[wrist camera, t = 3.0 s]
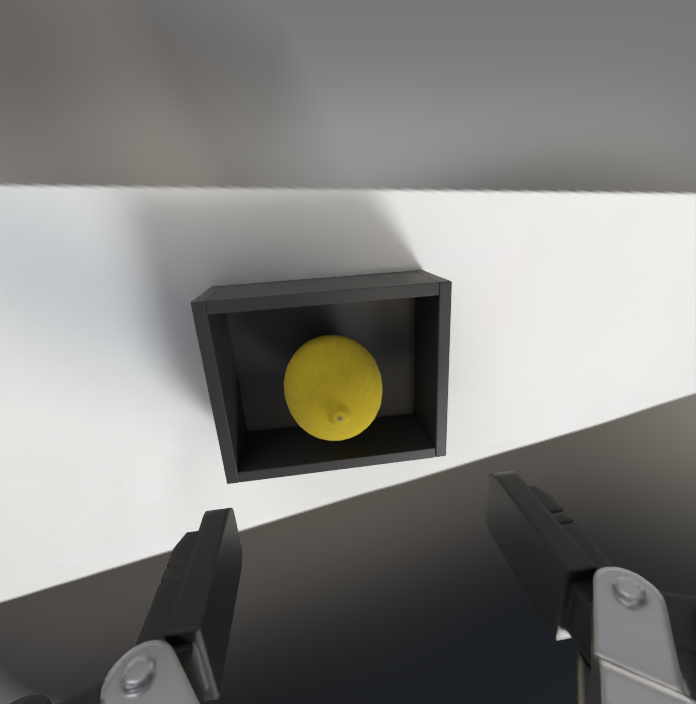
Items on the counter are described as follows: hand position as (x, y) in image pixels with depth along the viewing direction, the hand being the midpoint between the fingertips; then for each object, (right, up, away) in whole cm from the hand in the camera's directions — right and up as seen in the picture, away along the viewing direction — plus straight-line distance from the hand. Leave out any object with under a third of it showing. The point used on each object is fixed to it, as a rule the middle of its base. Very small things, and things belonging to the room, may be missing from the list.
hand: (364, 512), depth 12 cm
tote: (-2, +5, +14) cm, 15 cm away
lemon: (-2, +4, +14) cm, 14 cm away
